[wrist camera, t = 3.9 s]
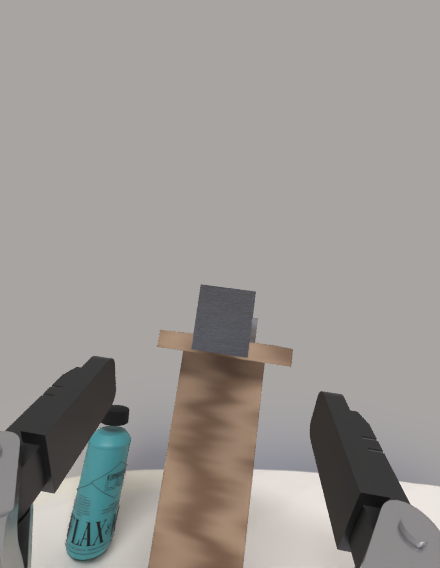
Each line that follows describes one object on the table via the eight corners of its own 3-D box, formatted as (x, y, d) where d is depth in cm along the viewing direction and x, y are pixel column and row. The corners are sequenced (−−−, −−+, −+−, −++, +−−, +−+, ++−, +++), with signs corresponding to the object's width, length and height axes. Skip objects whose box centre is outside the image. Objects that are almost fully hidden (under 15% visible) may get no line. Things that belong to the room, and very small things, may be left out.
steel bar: (239, 336, 32) (243, 306, 32) (247, 357, 14) (255, 291, 14) (215, 332, 32) (219, 303, 32) (191, 349, 14) (200, 284, 15)
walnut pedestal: (266, 638, 31) (293, 329, 38) (302, 950, 15) (337, 323, 22) (116, 605, 32) (168, 311, 39) (6, 861, 16) (125, 294, 23)
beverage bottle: (49, 564, 36) (84, 407, 40) (84, 531, 42) (111, 398, 46) (90, 581, 34) (123, 416, 38) (120, 544, 41) (145, 406, 45)
